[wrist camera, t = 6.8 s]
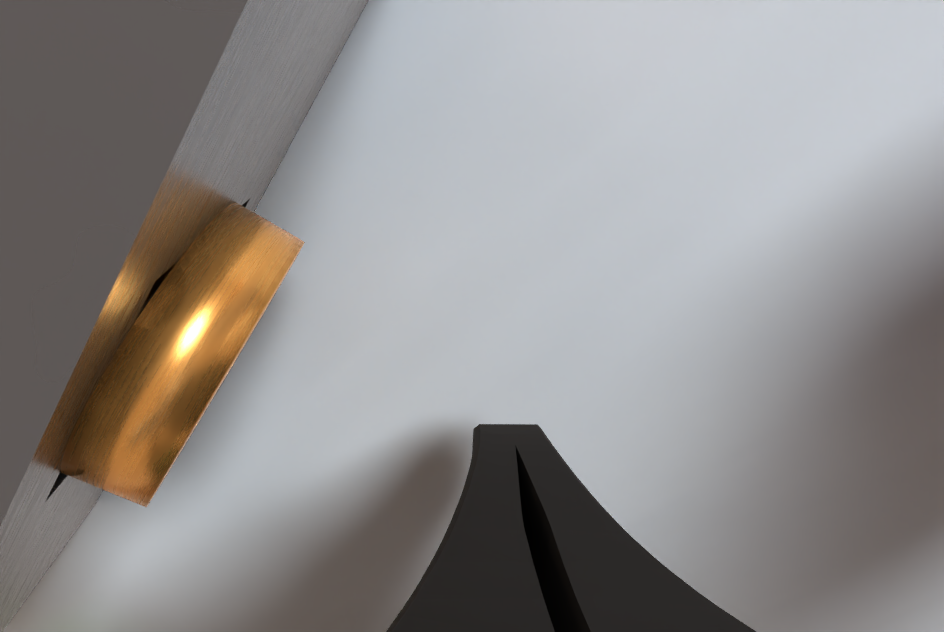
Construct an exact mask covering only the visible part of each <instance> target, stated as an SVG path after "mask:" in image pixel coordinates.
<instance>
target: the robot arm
mask: <svg viewBox="0 0 944 632" xmlns="http://www.w3.org/2000/svg"><path fill="white" fill-rule="evenodd" d="M386 632H756V631H754V630H753V629H751V628H750V627H748V626H747V625H745V624H744V623H742V622H741V621H739V620H738V619H736V618H734V617H733V616H731V615H730V614H728V613H727V612H725V611H724V610H722V609H721V608H719V607H718V606H717V605H715V604H714V603H712V602H711V601H710V600H708V599H707V598H705V597H704V596H702V595H701V594H700V593H698V592H697V591H696V590H694V589H693V588H692V587H690V586H689V585H688V584H687V583H685V582H684V581H683V580H681V579H680V578H679V577H678V576H676V575H675V574H674V573H672V572H671V571H670V570H669V569H667V568H666V567H665V566H664V565H663V564H661V563H660V562H659V561H658V560H656V559H655V558H654V557H653V556H652V555H651V554H650V553H649V552H647V551H646V550H645V549H644V548H643V547H642V546H641V545H640V544H639V543H638V542H636V541H635V540H634V539H633V538H632V537H631V536H630V535H629V534H628V533H627V532H626V531H625V530H624V529H623V528H622V527H621V526H620V525H619V524H618V523H617V522H616V521H615V520H614V519H613V518H612V517H611V516H610V514H609V513H608V512H607V511H606V510H605V509H604V508H603V507H602V506H601V505H600V504H599V502H598V501H597V500H596V499H595V498H594V497H593V496H592V495H591V493H590V492H589V491H588V490H587V489H586V487H585V486H584V485H583V484H582V483H581V481H580V480H579V479H578V478H577V477H576V475H575V474H574V473H573V472H572V470H571V469H570V468H569V466H568V465H567V464H566V462H565V461H564V460H563V459H562V457H561V456H560V455H559V453H558V452H557V450H556V449H555V448H554V446H553V445H552V444H551V442H550V441H549V439H548V438H547V436H546V435H545V434H544V432H543V431H542V429H541V428H540V427H539V426H538V425H518V424H479V425H478V426H477V427H475V428H474V432H473V450H472V460H471V465H470V469H469V472H468V475H467V479H466V482H465V486H464V489H463V492H462V495H461V497H460V500H459V502H458V505H457V508H456V510H455V513H454V515H453V518H452V520H451V523H450V525H449V527H448V529H447V532H446V534H445V536H444V538H443V540H442V542H441V544H440V546H439V548H438V550H437V552H436V554H435V556H434V558H433V560H432V561H431V563H430V565H429V567H428V568H427V570H426V572H425V574H424V575H423V577H422V579H421V581H420V582H419V584H418V586H417V587H416V589H415V591H414V592H413V594H412V595H411V597H410V598H409V600H408V601H407V603H406V604H405V606H404V607H403V609H402V610H401V611H400V613H399V614H398V616H397V617H396V619H395V620H394V621H393V623H392V624H391V626H390V627H389V629H388V630H387V631H386Z"/></svg>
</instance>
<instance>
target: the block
mask: <svg viewBox="0 0 944 632" xmlns="http://www.w3.org/2000/svg"><path fill="white" fill-rule="evenodd" d="M367 2H368V0H0V632H3V631H4V629H5V628H6V626H7V625H8V624H9V622H10V621H11V620H12V618H13V617H14V615H15V614H16V613H17V611H18V610H19V609H20V607H21V606H22V604H23V603H24V602H25V600H26V599H27V598H28V596H29V595H30V593H31V592H32V591H33V589H34V588H35V586H36V585H37V584H38V582H39V581H40V580H41V578H42V577H43V575H44V574H45V573H46V571H47V570H48V569H49V567H50V566H51V564H52V563H53V562H54V560H55V559H56V558H57V556H58V555H59V553H60V552H61V551H62V549H63V548H64V547H65V545H66V544H67V542H68V541H69V540H70V538H71V537H72V535H73V534H74V533H75V531H76V530H77V529H78V527H79V526H80V524H81V523H82V522H83V520H84V519H85V518H86V516H87V515H88V513H89V512H90V511H91V509H92V508H93V507H94V505H95V504H96V502H97V500H98V498H99V497H100V495H101V493H102V491H103V489H100V488H98V487H95V486H93V485H90V484H88V483H85V482H83V481H80V480H78V479H75V478H73V477H70V476H68V475H65V474H63V473H61V462H62V458H63V455H64V452H65V449H66V446H67V444H68V441H69V439H70V436H71V434H72V432H73V430H74V428H75V426H76V424H77V421H78V419H79V417H80V415H81V413H82V412H83V410H84V408H85V406H86V404H87V402H88V400H89V398H90V396H91V395H92V393H93V391H94V389H95V387H96V386H97V384H98V382H99V380H100V378H101V377H102V375H103V373H104V372H105V370H106V368H107V367H108V365H109V363H110V361H111V360H112V358H113V356H114V355H115V353H116V352H117V350H118V348H119V347H120V345H121V344H122V342H123V340H124V339H125V337H126V335H127V334H128V332H129V331H130V329H131V328H132V326H133V325H134V323H135V321H136V319H137V317H138V315H139V313H140V311H141V309H142V307H143V305H144V303H145V301H146V299H147V297H148V295H149V293H150V291H151V289H152V287H153V285H154V283H155V281H156V280H157V279H158V278H159V277H161V276H162V275H163V274H164V273H165V272H166V271H167V270H169V269H170V268H171V267H172V266H173V265H174V264H175V263H177V262H178V261H179V259H180V258H181V257H182V255H183V254H184V253H185V251H186V250H187V249H188V248H189V246H190V245H191V244H192V243H193V241H194V240H195V239H196V238H197V237H198V235H199V234H200V233H201V232H202V231H203V230H204V229H205V227H206V226H207V225H208V224H209V223H210V222H211V221H212V220H213V219H214V218H215V217H216V216H217V215H218V214H219V213H220V212H221V211H222V210H223V209H225V208H226V207H227V206H229V205H230V204H233V203H238V204H240V205H242V206H243V207H245V208H247V209H249V210H250V211H252V212H254V211H255V209H256V207H257V205H258V203H259V201H260V200H261V198H262V196H263V194H264V192H265V190H266V188H267V187H268V185H269V183H270V181H271V179H272V177H273V176H274V174H275V172H276V170H277V168H278V166H279V164H280V163H281V161H282V159H283V157H284V155H285V153H286V152H287V150H288V148H289V146H290V144H291V142H292V140H293V139H294V137H295V135H296V133H297V131H298V129H299V128H300V126H301V124H302V122H303V120H304V118H305V116H306V115H307V113H308V111H309V109H310V107H311V105H312V104H313V102H314V100H315V98H316V96H317V94H318V92H319V91H320V89H321V87H322V85H323V83H324V81H325V80H326V78H327V76H328V74H329V72H330V70H331V69H332V67H333V65H334V63H335V61H336V59H337V57H338V56H339V54H340V52H341V50H342V48H343V46H344V45H345V43H346V41H347V39H348V37H349V35H350V33H351V32H352V30H353V28H354V26H355V24H356V22H357V21H358V19H359V17H360V15H361V13H362V11H363V9H364V8H365V6H366V4H367Z"/></svg>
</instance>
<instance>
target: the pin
mask: <svg viewBox="0 0 944 632" xmlns="http://www.w3.org/2000/svg"><path fill="white" fill-rule="evenodd" d="M303 244H304V241H302V240H300V239H299V238H297V237H295V236H293V235H292V234H290V233H288V232H286V231H285V230H283V229H281V228H280V227H278V226H276V225H274V224H273V223H271V222H269V221H267V220H266V219H264V218H262V217H261V216H259V215H257V214H255V213H254V212H252V211H250V210H249V209H247V208H245V207H243V206H242V205H240V204H238V203H233V204H230V205H229V206H227V207H226V208H225V209H223V210H222V211H221V212H220V213H219V214H218V215H217V216H216V217H215V218H214V219H213V220H212V221H211V222H210V223H209V224H208V225H207V226H206V227H205V229H204V230H203V231H202V232H201V233H200V234H199V235H198V237H197V238H196V239H195V240H194V241H193V243H192V244H191V245H190V246H189V248H188V249H187V250H186V251H185V253H184V254H183V255H182V257H181V258H180V259H179V261H178V262H177V263H175V264H174V265H173V266H172V267H171V268H170V269H169V270H167V271H166V272H165V273H164V274H163V275H162V276H161V277H159V278H158V279H157V280H156V281H155V283H154V285H153V287H152V289H151V291H150V293H149V295H148V297H147V299H146V301H145V303H144V305H143V307H142V309H141V311H140V313H139V315H138V317H137V319H136V321H135V323H134V325H133V326H132V328H131V329H130V331H129V332H128V334H127V335H126V337H125V339H124V340H123V342H122V344H121V345H120V347H119V348H118V350H117V352H116V353H115V355H114V356H113V358H112V360H111V361H110V363H109V365H108V367H107V368H106V370H105V372H104V373H103V375H102V377H101V378H100V380H99V382H98V384H97V386H96V387H95V389H94V391H93V393H92V395H91V396H90V398H89V400H88V402H87V404H86V406H85V408H84V410H83V412H82V413H81V415H80V417H79V419H78V421H77V424H76V426H75V428H74V430H73V432H72V434H71V436H70V439H69V441H68V444H67V446H66V449H65V452H64V455H63V458H62V462H61V473H63V474H65V475H68V476H70V477H73V478H75V479H78V480H80V481H83V482H85V483H88V484H90V485H93V486H95V487H98V488H100V489H103V490H105V491H108V492H110V493H113V494H115V495H117V496H120V497H122V498H125V499H127V500H130V501H132V502H135V503H137V504H140V505H142V506H145V507H147V506H148V504H149V503H150V501H151V499H152V498H153V496H154V495H155V493H156V491H157V490H158V488H159V487H160V485H161V483H162V482H163V480H164V479H165V477H166V475H167V474H168V472H169V470H170V469H171V467H172V465H173V464H174V462H175V461H176V459H177V457H178V456H179V454H180V452H181V451H182V449H183V447H184V446H185V444H186V442H187V441H188V439H189V437H190V436H191V434H192V433H193V431H194V429H195V428H196V426H197V424H198V423H199V421H200V419H201V418H202V416H203V414H204V413H205V411H206V409H207V408H208V406H209V404H210V403H211V401H212V399H213V398H214V396H215V394H216V393H217V391H218V389H219V388H220V386H221V384H222V383H223V381H224V379H225V378H226V376H227V374H228V373H229V371H230V369H231V368H232V366H233V364H234V363H235V361H236V359H237V357H238V356H239V354H240V352H241V351H242V349H243V347H244V346H245V344H246V342H247V341H248V339H249V337H250V336H251V334H252V332H253V331H254V329H255V327H256V325H257V324H258V322H259V320H260V319H261V317H262V315H263V314H264V312H265V310H266V309H267V307H268V305H269V303H270V302H271V300H272V298H273V297H274V295H275V293H276V292H277V290H278V288H279V286H280V285H281V283H282V281H283V280H284V278H285V276H286V274H287V273H288V271H289V269H290V268H291V266H292V264H293V262H294V261H295V259H296V257H297V255H298V254H299V252H300V250H301V248H302V246H303Z"/></svg>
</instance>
